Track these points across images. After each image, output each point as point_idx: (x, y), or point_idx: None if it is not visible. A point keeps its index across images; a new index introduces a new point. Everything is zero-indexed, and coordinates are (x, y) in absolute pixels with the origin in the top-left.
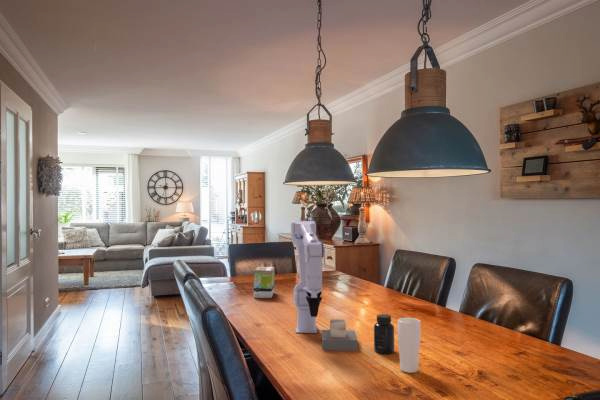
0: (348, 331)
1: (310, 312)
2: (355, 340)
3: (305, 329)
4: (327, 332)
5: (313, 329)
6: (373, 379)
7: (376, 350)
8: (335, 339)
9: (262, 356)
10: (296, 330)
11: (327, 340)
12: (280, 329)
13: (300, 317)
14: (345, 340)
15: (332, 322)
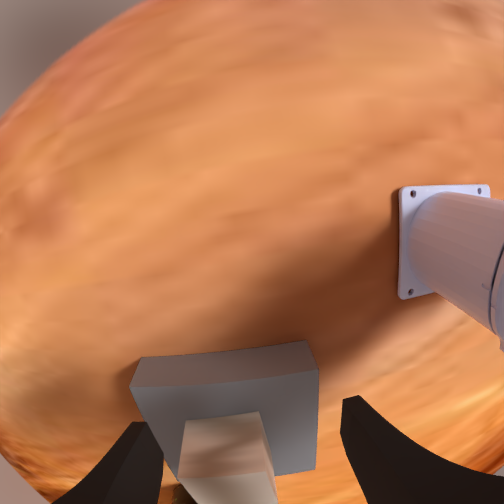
0: (296, 459)
1: (114, 446)
2: (175, 477)
3: (413, 244)
4: (266, 400)
5: (422, 283)
6: (16, 440)
7: (179, 488)
8: (157, 432)
9: (10, 117)
10: (420, 189)
11: (138, 404)
12: (439, 100)
13: (466, 226)
14: (164, 456)
15: (184, 481)
